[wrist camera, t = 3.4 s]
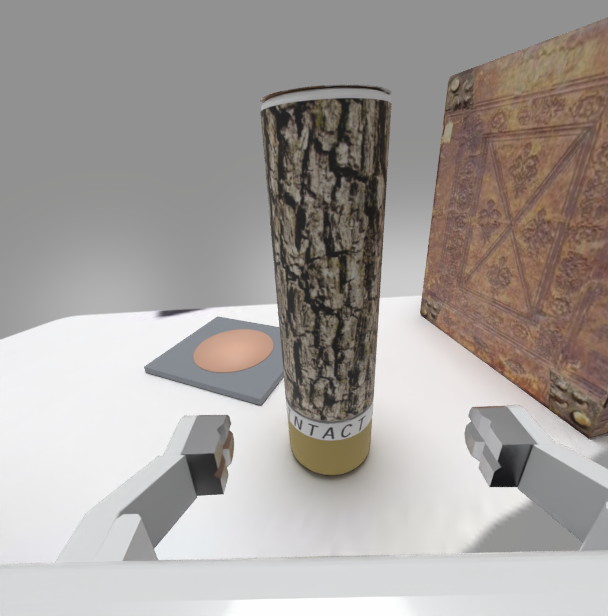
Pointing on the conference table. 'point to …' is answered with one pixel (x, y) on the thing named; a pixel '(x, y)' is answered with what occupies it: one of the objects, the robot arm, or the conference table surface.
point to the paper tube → (328, 261)
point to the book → (528, 222)
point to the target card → (226, 360)
